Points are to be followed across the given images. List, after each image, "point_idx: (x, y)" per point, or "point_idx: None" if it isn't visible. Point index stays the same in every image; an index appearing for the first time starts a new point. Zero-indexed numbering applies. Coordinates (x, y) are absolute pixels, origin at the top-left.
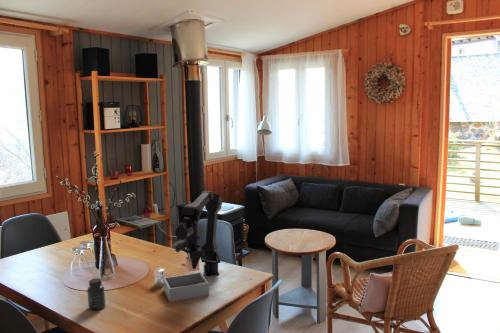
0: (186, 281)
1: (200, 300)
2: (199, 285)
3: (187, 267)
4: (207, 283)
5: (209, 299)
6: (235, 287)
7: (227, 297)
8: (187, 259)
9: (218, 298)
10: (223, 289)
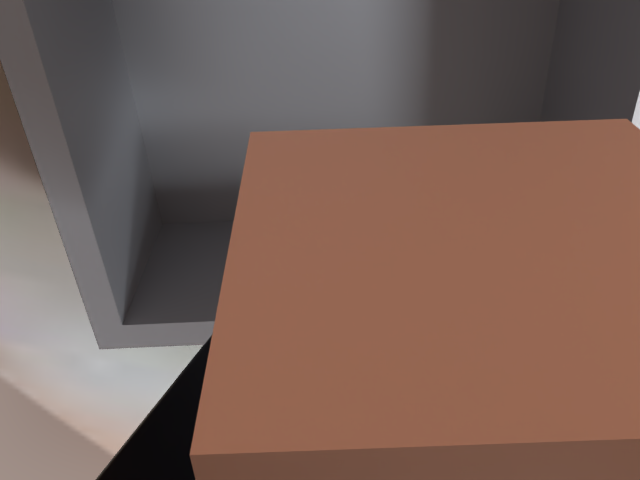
0: (586, 23)
1: (4, 104)
2: (59, 203)
3: (355, 183)
4: (96, 328)
5: (26, 213)
6: None
7: (60, 377)
8: (505, 467)
9: (45, 302)
10: None
